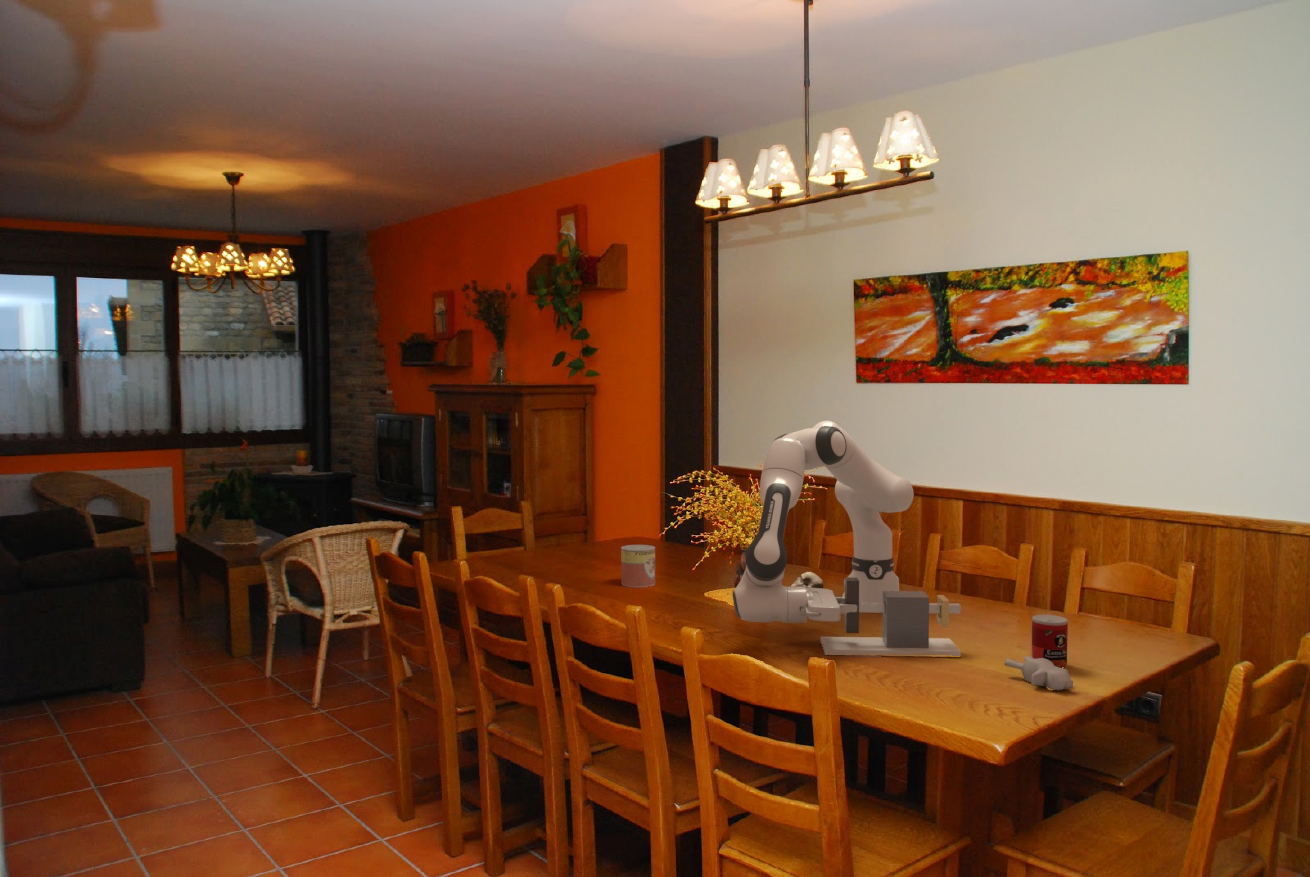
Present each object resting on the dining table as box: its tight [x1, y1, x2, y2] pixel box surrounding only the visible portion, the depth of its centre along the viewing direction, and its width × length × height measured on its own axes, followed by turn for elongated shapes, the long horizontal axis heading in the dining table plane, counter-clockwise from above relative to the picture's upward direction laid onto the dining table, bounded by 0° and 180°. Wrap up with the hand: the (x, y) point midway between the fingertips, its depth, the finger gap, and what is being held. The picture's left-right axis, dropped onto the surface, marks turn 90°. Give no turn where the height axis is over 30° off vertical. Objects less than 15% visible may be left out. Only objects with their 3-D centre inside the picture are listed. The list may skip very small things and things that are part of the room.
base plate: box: [820, 636, 962, 657], centre depth 243 cm, size 12×32×2 cm, turn 86°
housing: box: [881, 590, 930, 648], centre depth 242 cm, size 7×10×14 cm
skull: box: [790, 571, 824, 589], centre depth 303 cm, size 12×10×10 cm
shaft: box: [844, 576, 962, 634], centre depth 242 cm, size 4×28×13 cm, turn 86°
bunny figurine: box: [1003, 655, 1074, 691], centre depth 216 cm, size 10×5×15 cm
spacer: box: [936, 594, 950, 628], centre depth 242 cm, size 6×2×6 cm, turn 176°
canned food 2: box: [1031, 614, 1069, 668], centre depth 229 cm, size 8×8×11 cm
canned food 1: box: [620, 544, 656, 588], centre depth 324 cm, size 11×11×12 cm
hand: (855, 605), depth 243 cm, fingers closed on shaft, 4 cm apart
